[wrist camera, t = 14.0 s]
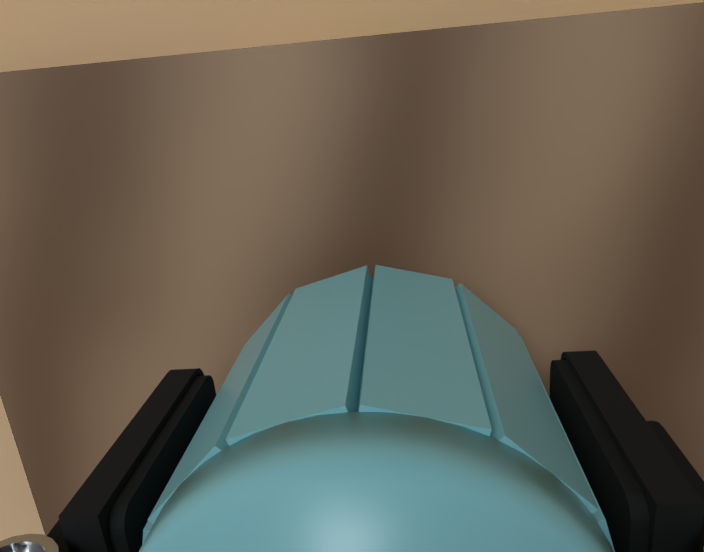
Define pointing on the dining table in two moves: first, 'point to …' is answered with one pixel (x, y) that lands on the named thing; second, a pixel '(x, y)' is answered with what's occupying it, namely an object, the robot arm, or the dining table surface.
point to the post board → (350, 209)
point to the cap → (380, 434)
